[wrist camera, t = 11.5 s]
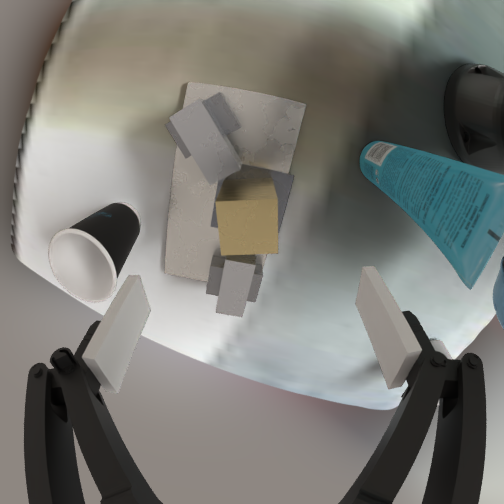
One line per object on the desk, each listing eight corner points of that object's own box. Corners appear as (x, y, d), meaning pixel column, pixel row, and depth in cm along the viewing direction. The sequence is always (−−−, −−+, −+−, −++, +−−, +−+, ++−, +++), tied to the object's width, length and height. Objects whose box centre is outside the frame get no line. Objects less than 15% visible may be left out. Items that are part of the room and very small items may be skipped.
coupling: (223, 180, 28) (215, 201, 22) (272, 177, 28) (277, 199, 22) (227, 223, 31) (221, 255, 25) (273, 221, 31) (278, 253, 24)
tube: (385, 195, 30) (489, 294, 13) (350, 184, 29) (449, 286, 12) (404, 138, 26) (535, 193, 9) (368, 123, 25) (501, 162, 9)
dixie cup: (118, 176, 28) (65, 211, 19) (165, 221, 31) (131, 273, 22) (87, 220, 31) (39, 265, 22) (130, 260, 34) (94, 315, 24)
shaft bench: (181, 81, 24) (163, 75, 18) (310, 105, 25) (325, 105, 20) (159, 269, 35) (145, 298, 29) (261, 288, 36) (262, 320, 31)
